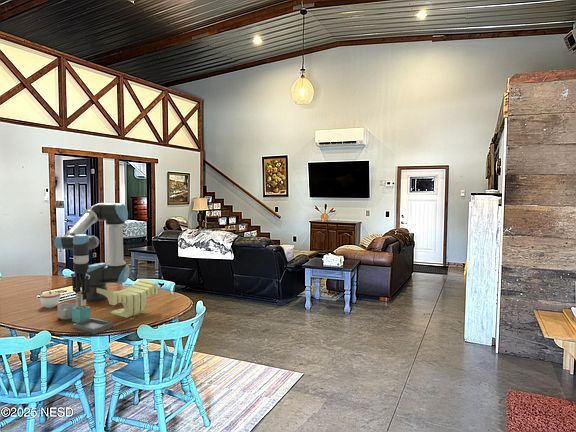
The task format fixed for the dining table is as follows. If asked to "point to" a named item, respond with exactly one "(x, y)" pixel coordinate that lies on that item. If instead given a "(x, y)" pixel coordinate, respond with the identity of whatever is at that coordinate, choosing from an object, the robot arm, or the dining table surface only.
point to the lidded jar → (50, 299)
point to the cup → (80, 314)
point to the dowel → (79, 300)
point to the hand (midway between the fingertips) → (81, 304)
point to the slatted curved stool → (131, 297)
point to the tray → (93, 325)
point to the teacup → (66, 310)
